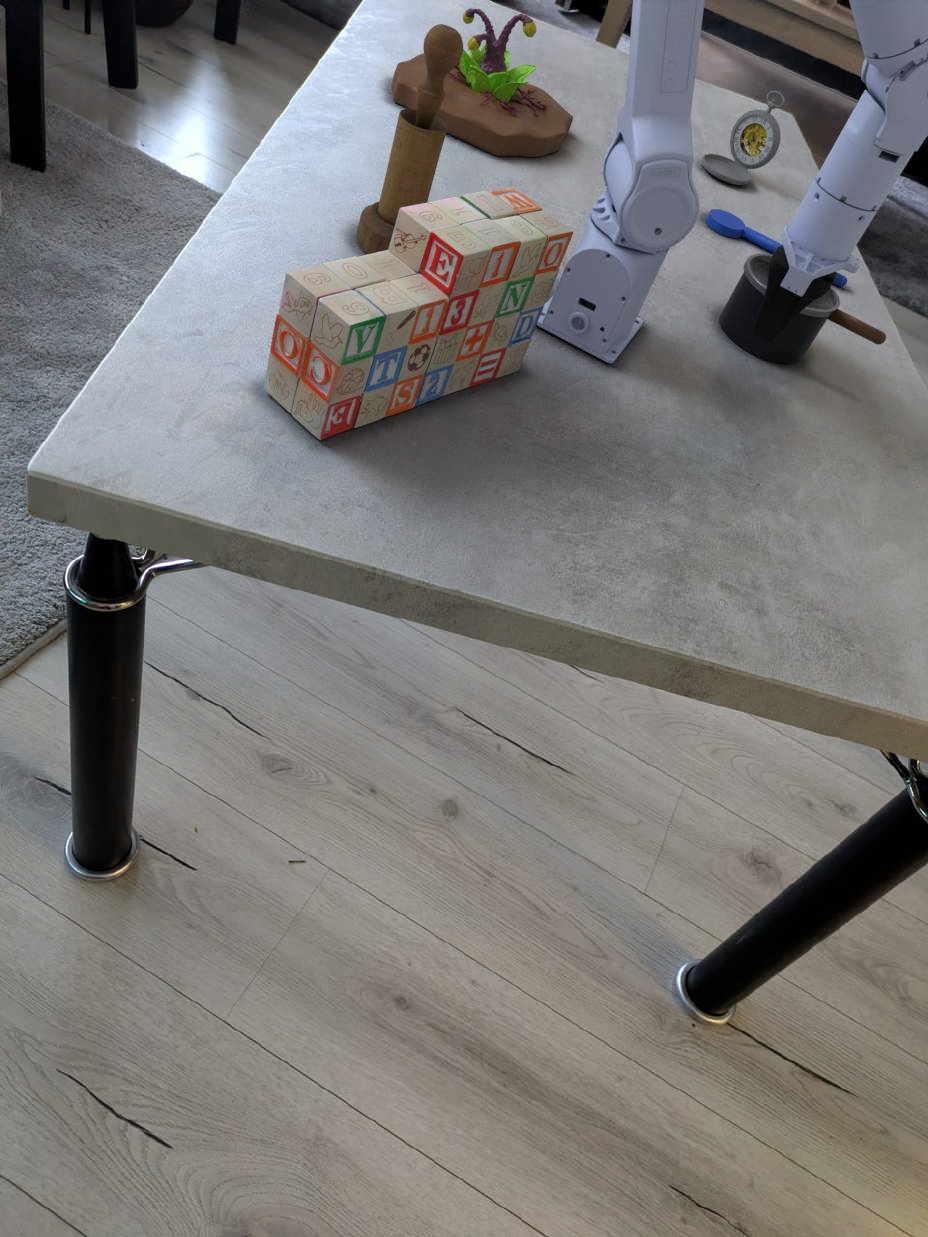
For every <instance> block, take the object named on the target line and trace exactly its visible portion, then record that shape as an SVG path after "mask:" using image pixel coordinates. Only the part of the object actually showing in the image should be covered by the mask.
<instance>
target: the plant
mask: <svg viewBox="0 0 928 1237" xmlns="http://www.w3.org/2000/svg"><path fill="white" fill-rule="evenodd" d="M475 15H478V17H480V19H481V21H482V23H483V24H484V28H485V29H484V31H485V32H483V33H481V34H480V33H479V34H477V35H473V36H471V37H469V38H468V41H467V50H468V51H469V53H470V54H468V53H467V51H466V49H464V48H463V53H462V57H461V59H460V61H459V62H458V63H457V65H456V66H455V67H454V68H453V69H452V70H451V71H450V72H449V73H448V74H447V75H446V77H445V79H444V84H443V89H444V91H445V93H446V96H445V98H444V100H443V103H442V105H441V106H440V108H439V110H438V112H437V113H436V115H435V116H437V117H439V118H440V119H442V120H443V121H444V122H445V123H446V124H447V132H446V134H448V135H451V136H453V137H456V138H458V139H460V140H462V141H464V142H466V143H468V144H470V145H473V146H474V147H476V148H479V149H481V150H483V151H484V152H487V153H489V154H491V155H494V156H497V157H516V156H517V157H524V158H540V157H543V156H546V155H548V154H552V153H554V152H558V151H559V150H560V149H561V147H562V145H563V143H564V139H565V137H566V136H568V135H569V132H570V129H571V126H572V124H573V121H574V116H573V115H572V114H571V113H570V112H568V111H567V110H566V109H565V107H563V106H562V105H561V104H560V103H559V102H558V101H557V100H556V99H554V97H553V96H551V95H550V94H549V93H548V92H547V91H546V90H544V89H542V88H540V87H539V86H536V85H533V84H530V83H529V81H528V80H525V79H526V78H527V77H528V76H529V75H530V74H532V73H533V72H534V71H535V70H536V65H533V64H521V65H516V66H514V67H513V68H511V69H510V65H511V64H510V62H511V54H510V52H509V50H508V49H507V44H508V42H509V40H510V35H511V34H512V30H513V29H514V28H515V27H516V24H517V23H519V21H520V22H521V23H522V30H523V33H524V36H526V37H527V38H533V37H534V36H535V35H536V33H537V24H536V23H535V21H534V19H532V17H529V16H528V14H524V13H519V14H517V15H514V16H513V17H511V19H510V20H507V22H506V24H505V25H504V27H503V29H502V30H501V33H500V34H499V36H498V38H496V34H495V29H494V26H493V25H492V21H491V20H490V18H489V17H488V15H487V14H486V13H485V11H483V10H482V9H480V8H468V9H466V10H464V12H463V14H462V21H463V22H464V24H465V25H470V24H472V23H473V21H474V20H475ZM483 41H485V43H484V44H483V46H482V48H481V50H480V47H481V45H482V42H483ZM426 76H427V66H426V61H425V56H424V52H423V53H420V54H418V55H415V56H414V57H412V58H411V59H408V60H406V61H400V62H398V63H397V65H396V68H395V69H394V72H393V77H392V81H391V86H390V89H391V92H392V95H393V96H392V101H393V102H394V103H396V104H399V105H401V106H403V107H405V108H406V109H416V101H417V86H418V84H419V83H421V82H423V81H424V80H425V78H426Z"/></svg>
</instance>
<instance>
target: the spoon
mask: <svg viewBox="0 0 928 1237" xmlns="http://www.w3.org/2000/svg"><path fill="white" fill-rule="evenodd" d="M705 222H706V224H707V226H708V227H710V228H711V229H712V230H713V231H715V232H716V233H718V234H720V235H722V236H725V237H728V238H732V239H737V238H743V239H744V240H747V241H748V242H751V243H752V244H755V245H756V246H758V247H760V248H762V249H764V250H766V251H768V252H770V253H772V254H774V252H775V251H776V249H777V248H778V247H779V246H783V243H780V242H779V241H776V240H774V239H773V238H770V237H769V236H767V235H764V234H763V233H760V232H759V231H756V230H755V229H753V228H751V227H749V226H746V224H745V222H744V221H743V220H742V219H741V218H739V217H738V216H737V215H735V214H734V213H731V212H729V211H726V210H724V209H718V208H713V209H711V210H710V211H709V213H708V214H707V216H706V219H705ZM847 283H848V278H847V277H846V276H845V275H844V274H842V273H839V272H837V274H836V277H835V279H834V281H833V282H832V285H835V286H837V287H839V288H842V287H845V286H846V285H847Z"/></svg>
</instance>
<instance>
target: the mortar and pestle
mask: <svg viewBox="0 0 928 1237" xmlns="http://www.w3.org/2000/svg"><path fill="white" fill-rule="evenodd" d="M463 49H464V42H463V37H462V35H461V34H460V32H459V31H458V30H457V29H456V28H454V27H452V26H450V25H448V24H443V23H438V24H436V25H434V26H432V27H431V28H430V29H429V30H428V32H427V33H426V35H425V38H424V40H423V53H424V56H425V61H426V66H427V76H426V78H425V80H424V81H423V82H421V83H419V84H418V86H417V101H416V109H409V108H403V109H401V110H400V111H399V113H398V117H397V121H396V126H395V131H394V136H393V140H392V143H391V144H392V146H391V150H390V152H389V159H388V162H387V167H386V171H385V175H384V180H383V186H382V189H381V193H380V197H379V201H376V202H374V203H373V204H370V205H367V206H366V207H364V208H363V210H362V211H361V213H360V216H359V222H358V227H357V230H356V234H355V235H356V236H355V240H356V244H357V246H358V247H359V248H360V250H361V251H362V252H363V253H365V255H367V254H371V253H376V252H380V251H385V250H388V248H389V245H390V241H391V238H392V234H393V231H394V227H395V223H396V220H397V216H398V213H399V209H400V208H402V207H407V206H412V205H417V204H423V203H429V198H430V194H431V190H432V186H433V182H434V180H435V179H434V178H435V174H436V172H437V168H438V163H439V161H440V160H439V159H440V157H441V152H442V150H443V145H444V142H445V138H446V135H447V133H446V132H447V124H446V123H445V122H444V121H443V120H442V119H440V118H439V117H437V116H435V115H436V113H437V112H438V110H439V108H440V106H441V105H442V103H443V100H444V98H445V96H446V93H445V91H444V89H443V84H444V79H445V77H446V75H447V74H448V73H449V72H450V71H451V70H452V69H453V68H454V67H455V66H456V65H457V63H458V62H459V61H460V59H461V57H462V53H463Z"/></svg>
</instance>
